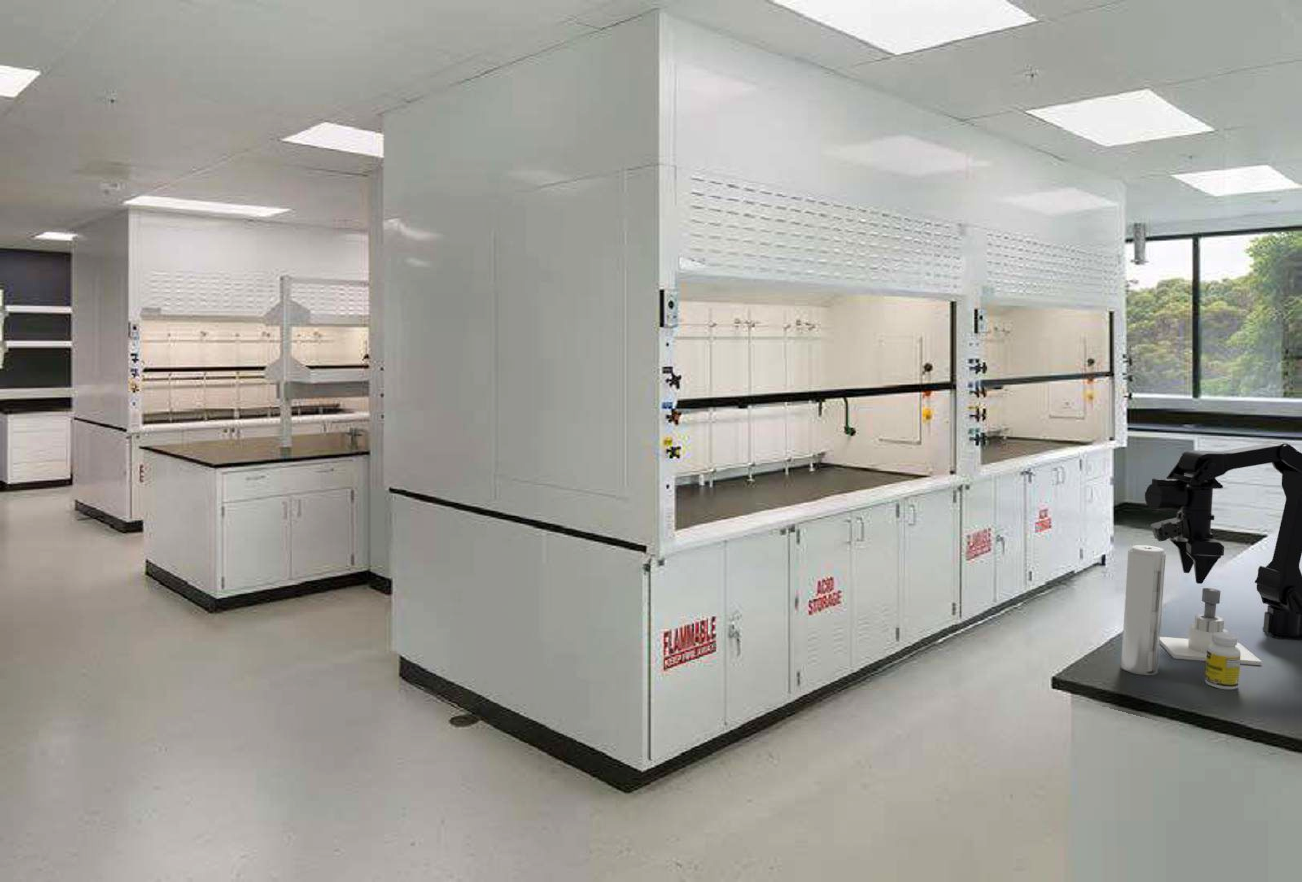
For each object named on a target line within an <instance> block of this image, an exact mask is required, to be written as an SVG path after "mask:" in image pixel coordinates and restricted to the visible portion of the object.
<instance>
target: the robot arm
mask: <svg viewBox="0 0 1302 882" xmlns="http://www.w3.org/2000/svg"><path fill="white" fill-rule="evenodd" d="M1178 460H1179V461H1178V462H1177V463H1176V465H1175V466H1174V467H1173V468H1172V470H1171V471H1170V473H1168V475H1167V476H1166V478H1152V479H1151V484H1149V485H1148V486H1147V488H1146V491H1144V500H1145V504H1146V505H1147V507H1148V508H1149V509H1150V510H1152V511H1159V510H1160V511H1161V510H1164V511H1165V510H1178V511H1176V517H1173V518H1169V519H1164V520H1160V521H1158V522H1153V523H1152V524H1150V529H1151V531H1152V533H1153V534H1152V535H1153V536H1154V539H1156V540H1157V541H1158V542H1164V541H1167V540H1168V539H1169V541H1170V542H1171V543H1172V544H1173V545H1174V546H1175V547H1176V548H1177V550H1178V554H1179V555H1178V556H1179V558H1180V562H1181V563H1180V564H1181V567H1182V571H1183V574H1184V573H1185V574H1190V572H1191V571H1192V568H1193V569H1194V571H1193V572H1194V578H1195V582H1196V584H1200V585H1201V584H1203V583H1204V581H1206V580H1205V579H1207V576H1208V575H1209V573H1210V572H1211V570H1212V569H1213V567H1214V566H1215V565H1216V564H1217V562H1218V560H1219V559H1221V558H1222V556H1224V555H1225V546H1224V545H1223V544H1222V543H1221V542H1220V541H1218V540H1217V539H1216V538H1214V533H1212V532H1211V529H1212V521H1215V514H1213V513H1212V511H1213V509H1212V508H1213V493H1214V489H1215V490H1216V489H1217V490H1218V489H1219V490H1221V489H1223V488H1224V485H1223V484H1221V482H1219V481H1218V480H1217V478H1219V477H1221V476H1224V475H1225V474H1226V473H1228V472H1229V471H1233V470H1237V469H1241V468H1248V467H1252V466H1260V465H1266V464H1271V465H1272V466H1273V468H1274V469H1275V470H1277V471H1278V472H1279V473H1280V474H1281V487H1282V490H1283V493H1284V496H1285V503H1284V508H1283V511H1282V516H1281V519H1280V524H1279V529H1278V534H1277V537H1276V542H1275V546H1274V552H1273V556H1272V560H1271V561H1270V562H1269V563H1268V564H1267V565H1266V566H1262V565H1259V567H1258V568H1257V576H1256V579H1255V581H1254V583H1255V584H1256V591H1257V592H1258V593H1259V595H1260V598H1261V601H1262V604H1264V605H1267V609H1266V610H1267V611H1265V612H1264V618H1263V627H1262V630H1263V631H1264V632H1266V633H1267V635H1270V636H1271V637H1272V638H1274V639H1275V638H1276V639H1287V640H1298V641H1299V640H1301V641H1302V572H1301V568H1300V563H1301V560H1302V559H1301V558H1302V452H1301V451H1299V450H1297V449H1296V448H1295V447H1293V445H1291V444H1288V443H1284V442H1278V441H1270V442H1267V443H1263V444H1258V445H1252V446H1251V445H1250V446H1246V447H1245V446H1243V447H1240V448H1234V449H1228V450H1226V449H1225V450H1220V451H1216V450H1215V451H1214V450H1190V449H1189V450H1186V451H1184V452H1182V453H1181V456H1180V458H1179V459H1178Z"/></svg>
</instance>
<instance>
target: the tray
mask: <svg viewBox="0 0 1302 882" xmlns="http://www.w3.org/2000/svg"><path fill="white" fill-rule="evenodd" d="M1188 639H1189V638H1182V637H1169V636H1167V637H1166V636H1160V645H1161V646H1162V647H1163V648H1164V650H1166V652H1168V654H1169V655H1170V656H1171V657H1172V658H1174V659H1175V660H1176V659H1179V660H1188V661H1190V660H1191V661H1202V662H1206V659H1207V653H1203V652H1199V651H1195V650H1193V649H1191V648H1189V647H1188ZM1235 647H1237V648H1238V649H1239V650H1240V652H1241V656H1240V665H1251V666H1252V665H1253V666H1262V665H1263V664H1262V663H1263V662H1262V660H1261V659H1259V658H1258V657H1257V656H1255V654H1253V653H1252V652H1251V651H1250V650H1248V649H1247V648H1246V647H1245V646H1243V645H1242V644H1241V643H1240V642H1237V645H1236V646H1235Z"/></svg>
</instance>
